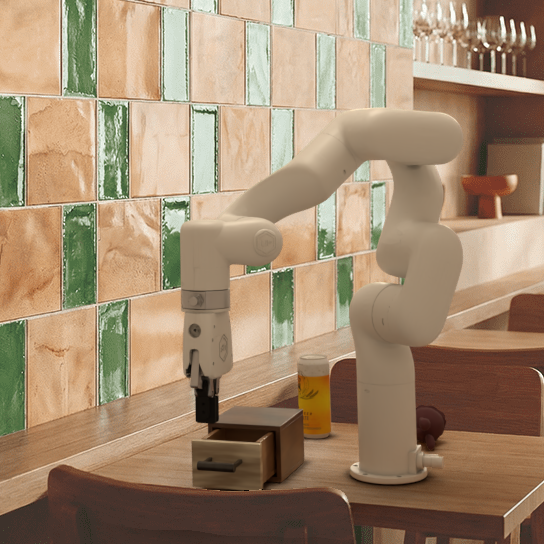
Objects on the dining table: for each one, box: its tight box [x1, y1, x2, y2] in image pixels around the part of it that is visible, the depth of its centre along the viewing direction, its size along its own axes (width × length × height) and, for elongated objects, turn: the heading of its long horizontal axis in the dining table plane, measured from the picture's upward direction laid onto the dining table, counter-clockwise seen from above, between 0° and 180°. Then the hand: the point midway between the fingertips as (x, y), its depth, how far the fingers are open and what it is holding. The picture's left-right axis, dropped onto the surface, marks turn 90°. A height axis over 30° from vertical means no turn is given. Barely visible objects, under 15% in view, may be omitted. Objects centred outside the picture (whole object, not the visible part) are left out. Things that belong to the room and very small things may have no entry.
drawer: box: [191, 428, 277, 491], centre depth 186 cm, size 17×11×7 cm, turn 159°
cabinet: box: [207, 405, 305, 483], centre depth 197 cm, size 14×13×9 cm
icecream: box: [416, 404, 447, 451], centre depth 213 cm, size 7×7×15 cm
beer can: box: [296, 353, 332, 439], centre depth 221 cm, size 6×6×15 cm
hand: (207, 421), depth 176 cm, fingers closed
